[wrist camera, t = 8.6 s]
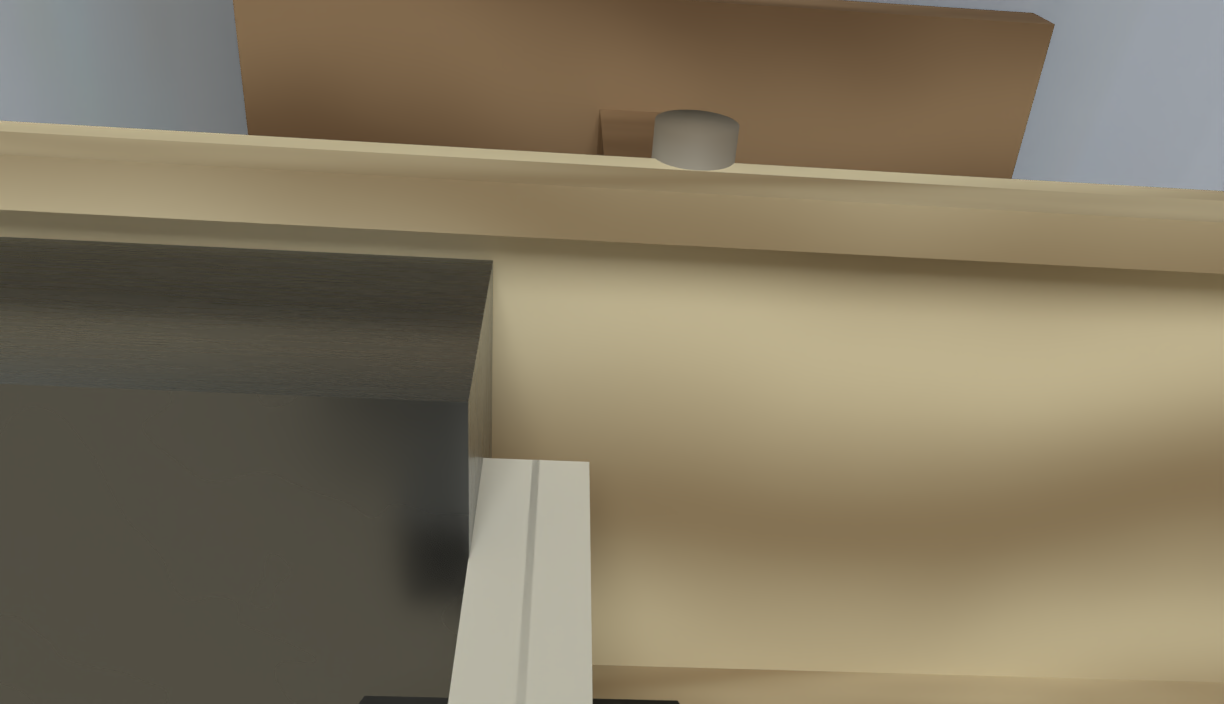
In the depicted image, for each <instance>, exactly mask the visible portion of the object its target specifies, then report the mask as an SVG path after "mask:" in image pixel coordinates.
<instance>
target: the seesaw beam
mask: <svg viewBox="0 0 1224 704" xmlns="http://www.w3.org/2000/svg"><path fill="white" fill-rule="evenodd" d="M739 127H740V126H739V124H738V123H737V122H736V121H735V120H734V119H732V118H730V117H727V116H724V115H721V114H718V113H713V112H708V111H701V110H671V111H666V112H662V113H660V114H658V115H657V116H656V117H655V125H654V136H653V147H652V157H651V158H637V157H620V156H603V155H585V154H568V153H551V152H533V151H516V150H498V149H481V148H464V147H446V146H429V145H412V144H394V143H377V142H359V141H342V140H325V139H307V138H290V137H273V136H255V135H238V134H220V133H203V132H186V131H168V130H151V129H134V128H116V127H99V126H81V125H64V124H47V123H29V122H12V121H0V237H18V238H39V239H59V240H80V241H101V242H122V243H143V244H164V245H184V246H205V247H226V248H247V249H268V250H288V251H309V252H330V253H351V254H372V255H393V256H413V257H434V258H455V259H476V260H493V341H492V458H499V459H525V460H554V461H580V462H589V477H590V551H591V625H592V698H593V699H635V700H677V701H678V702H679V703H680V704H1224V191H1211V190H1194V189H1176V188H1159V187H1141V186H1124V185H1107V184H1089V183H1072V182H1055V181H1037V180H1020V179H1002V178H985V177H968V176H950V175H933V174H915V173H898V172H881V171H863V170H846V169H829V168H811V167H794V166H776V165H759V164H742V163H735V156H736V149H737V141H738V134H739Z"/></svg>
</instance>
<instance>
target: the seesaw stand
mask: <svg viewBox="0 0 1224 704" xmlns="http://www.w3.org/2000/svg"><path fill="white" fill-rule="evenodd" d="M233 5H234V14H235V23H236V31H237V40H238V49H239V58H240V66H241V75H242V84H243V93H244V102H245V110H246V119H247V128H248V135H255V136H273V137H290V138H307V139H325V140H342V141H359V142H377V143H394V144H412V145H429V146H446V147H464V148H481V149H498V150H516V151H533V152H551V153H568V154H585V155H603V156H620V157H637V158H651V157H652V147H653V136H654V125H655V117H656V116H657V115H658V114H660V113H662V112H666V111H671V110H701V111H708V112H713V113H718V114H721V115H724V116H727V117H730V118H732V119H734V120H735V121H736V122H737V123H738V124H739V126H740V127H739V134H738V141H737V149H736V156H735V163H742V164H759V165H776V166H794V167H811V168H829V169H846V170H863V171H881V172H898V173H915V174H933V175H950V176H968V177H985V178H1002V179H1011V178H1012V175H1013V171H1014V168H1015V164H1016V160H1017V157H1018V153H1019V150H1020V146H1021V143H1022V139H1023V136H1024V132H1025V128H1026V125H1027V121H1028V118H1029V114H1030V111H1031V107H1032V103H1033V100H1034V96H1035V93H1036V89H1037V86H1038V82H1039V79H1040V75H1041V71H1042V68H1043V64H1044V61H1045V57H1046V54H1047V50H1048V47H1049V43H1050V39H1051V36H1052V32H1053V29H1054V25H1055V24H1053V23H1051V22H1049V21H1047V20H1045V19H1043V18H1042V17H1040V16H1038V15H1036V14H1034V13H1025V12H1009V11H994V10H979V9H964V8H949V7H934V6H919V5H903V4H888V3H873V2H858V1H843V0H233Z"/></svg>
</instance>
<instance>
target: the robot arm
mask: <svg viewBox="0 0 1224 704" xmlns="http://www.w3.org/2000/svg"><path fill="white" fill-rule="evenodd" d="M359 704H680V703H679V702H678V701H677V700H635V699H593V698H592V625H591V551H590V477H589V462H580V461H554V460H525V459H499V458H483V464H482V471H481V478H480V485H479V492H478V499H477V507H476V514H475V521H474V528H473V535H472V542H471V550H470V557H469V559H468V565H467V572H466V579H465V586H464V593H463V600H462V608H461V615H460V622H459V629H458V636H457V643H456V650H455V657H454V664H453V671H452V678H451V685H450V692H449V698H439V697H398V696H364V697H363V698H362V700H361V701H360V702H359Z"/></svg>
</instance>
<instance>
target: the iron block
mask: <svg viewBox="0 0 1224 704" xmlns="http://www.w3.org/2000/svg"><path fill="white" fill-rule="evenodd" d="M492 341H493V260H476V259H455V258H434V257H413V256H393V255H372V254H351V253H330V252H309V251H288V250H268V249H247V248H226V247H205V246H184V245H164V244H143V243H122V242H101V241H80V240H59V239H39V238H18V237H0V704H359V702H360V701H361V700H362V698H363V697H364V696H398V697H439V698H449V692H450V685H451V678H452V671H453V664H454V657H455V650H456V643H457V636H458V629H459V622H460V615H461V608H462V600H463V593H464V586H465V579H466V572H467V565H468V559H469V557H470V550H471V542H472V535H473V528H474V521H475V514H476V507H477V499H478V492H479V485H480V478H481V471H482V464H483V458H492Z"/></svg>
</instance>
